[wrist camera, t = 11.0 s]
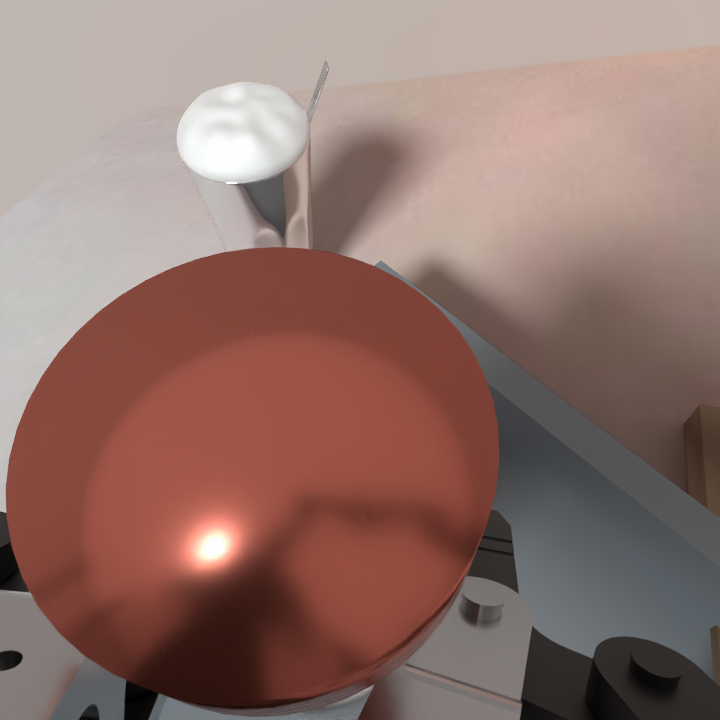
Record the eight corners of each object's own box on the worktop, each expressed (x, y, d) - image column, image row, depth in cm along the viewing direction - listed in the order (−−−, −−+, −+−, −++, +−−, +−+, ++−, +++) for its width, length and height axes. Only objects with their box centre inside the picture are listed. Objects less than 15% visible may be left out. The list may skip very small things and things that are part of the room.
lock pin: (349, 559, 18) (282, 187, 7) (455, 671, 16) (603, 431, 5) (236, 666, 16) (-79, 428, 5) (341, 800, 15) (203, 855, 4)
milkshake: (357, 307, 29) (342, 108, 20) (232, 332, 28) (164, 140, 20) (335, 231, 31) (315, 24, 22) (221, 253, 30) (155, 51, 22)
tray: (382, 331, 28) (381, 260, 24) (796, 671, 20) (889, 647, 17) (-70, 705, 21) (-173, 689, 17) (308, 1419, 14) (275, 1669, 10)
